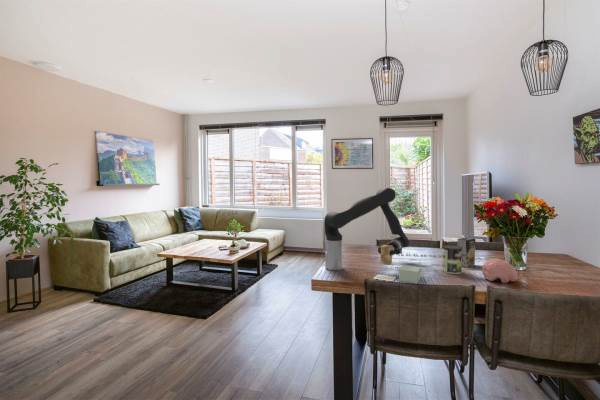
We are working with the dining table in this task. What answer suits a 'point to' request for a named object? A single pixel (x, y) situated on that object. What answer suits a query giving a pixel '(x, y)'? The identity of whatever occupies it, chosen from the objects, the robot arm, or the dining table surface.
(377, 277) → the page
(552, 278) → the dining table surface
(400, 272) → the base brick
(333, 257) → the robot arm
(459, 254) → the coffee can
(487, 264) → the pink piggy bank
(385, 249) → the tan cylinder
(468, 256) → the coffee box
